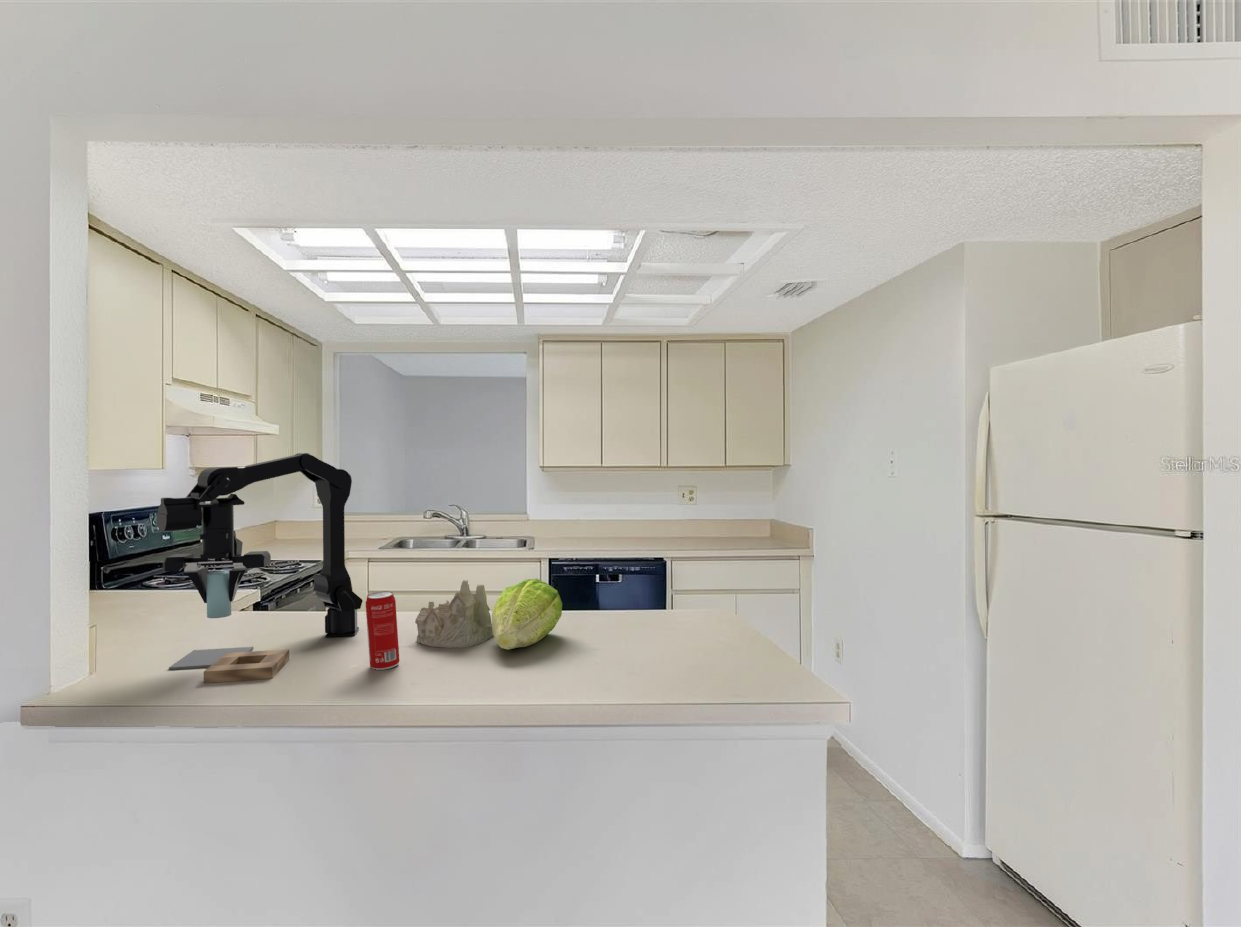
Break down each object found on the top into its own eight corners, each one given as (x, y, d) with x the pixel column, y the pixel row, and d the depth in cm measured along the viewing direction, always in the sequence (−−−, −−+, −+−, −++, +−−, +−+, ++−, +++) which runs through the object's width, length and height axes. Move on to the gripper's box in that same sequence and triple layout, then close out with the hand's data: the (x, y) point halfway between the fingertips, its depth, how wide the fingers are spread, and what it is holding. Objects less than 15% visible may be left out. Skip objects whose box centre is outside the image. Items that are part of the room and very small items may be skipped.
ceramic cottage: (505, 632, 162) (500, 570, 161) (460, 653, 147) (454, 586, 147) (455, 629, 169) (450, 570, 168) (407, 649, 154) (401, 584, 154)
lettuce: (460, 627, 142) (517, 596, 138) (499, 588, 165) (548, 560, 162) (495, 684, 143) (553, 654, 139) (529, 637, 166) (579, 610, 163)
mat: (253, 648, 149) (253, 646, 149) (234, 665, 138) (234, 663, 138) (193, 652, 147) (193, 650, 147) (168, 669, 135) (168, 667, 135)
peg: (234, 612, 143) (233, 570, 143) (227, 617, 139) (226, 574, 138) (211, 613, 142) (210, 571, 142) (203, 618, 138) (202, 575, 137)
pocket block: (289, 659, 142) (289, 649, 142) (272, 678, 130) (272, 667, 130) (227, 663, 139) (226, 653, 139) (203, 683, 127) (203, 671, 127)
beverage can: (405, 663, 139) (404, 591, 139) (384, 673, 133) (383, 597, 133) (381, 660, 141) (380, 589, 141) (360, 669, 135) (359, 595, 134)
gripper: (277, 522, 150) (278, 592, 150) (183, 524, 146) (184, 596, 146) (262, 528, 139) (263, 602, 139) (161, 530, 135) (162, 608, 135)
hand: (219, 602), depth 140 cm, fingers closed on peg, 4 cm apart
